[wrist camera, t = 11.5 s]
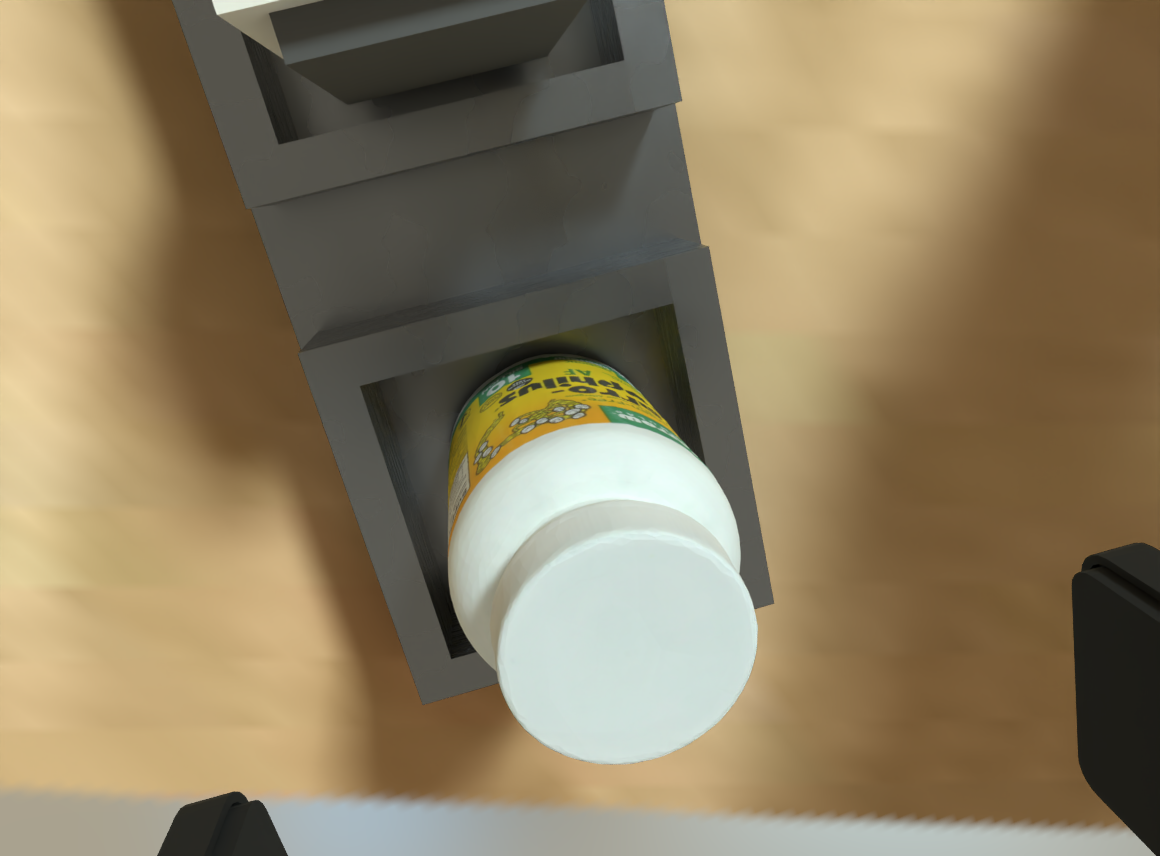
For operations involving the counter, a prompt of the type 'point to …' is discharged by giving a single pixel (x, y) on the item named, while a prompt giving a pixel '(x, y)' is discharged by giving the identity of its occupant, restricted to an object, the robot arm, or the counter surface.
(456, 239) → the rack
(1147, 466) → the counter surface
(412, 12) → the white rectangular block
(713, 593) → the supplement bottle
